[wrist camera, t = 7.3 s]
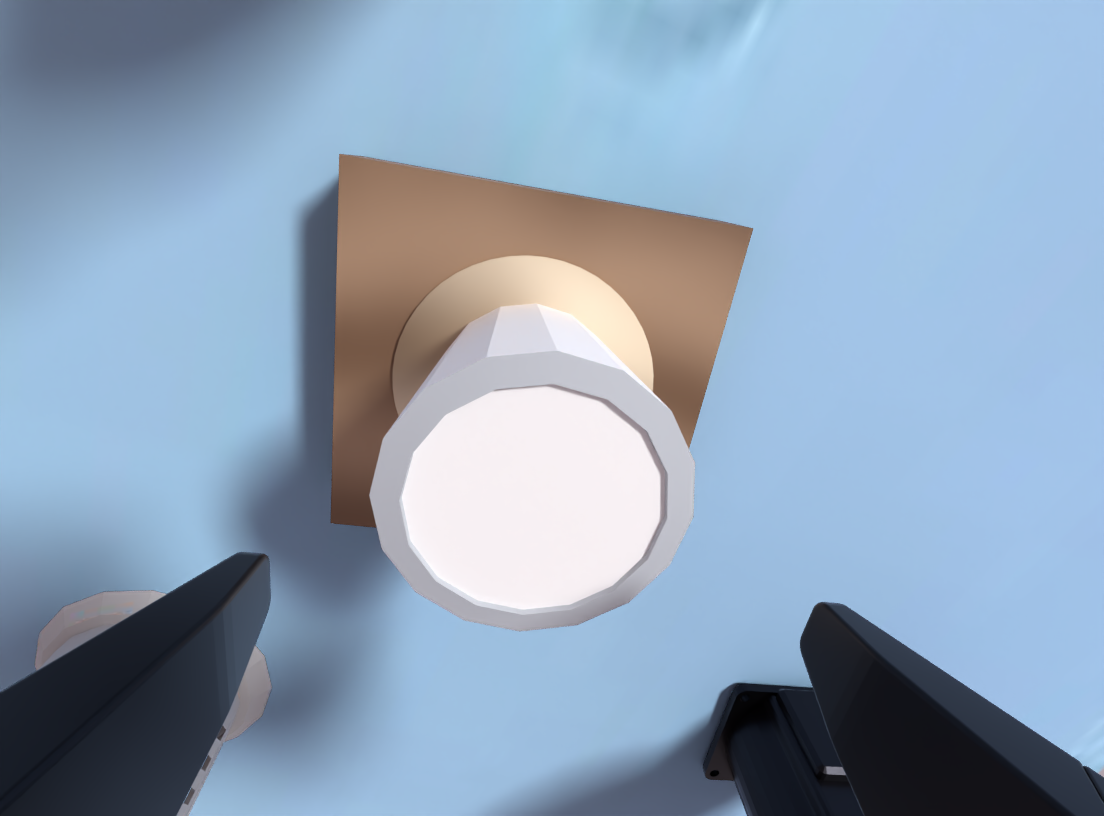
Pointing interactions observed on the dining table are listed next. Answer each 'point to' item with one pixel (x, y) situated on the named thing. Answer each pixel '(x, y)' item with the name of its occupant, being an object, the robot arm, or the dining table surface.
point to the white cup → (532, 476)
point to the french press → (114, 606)
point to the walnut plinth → (508, 292)
